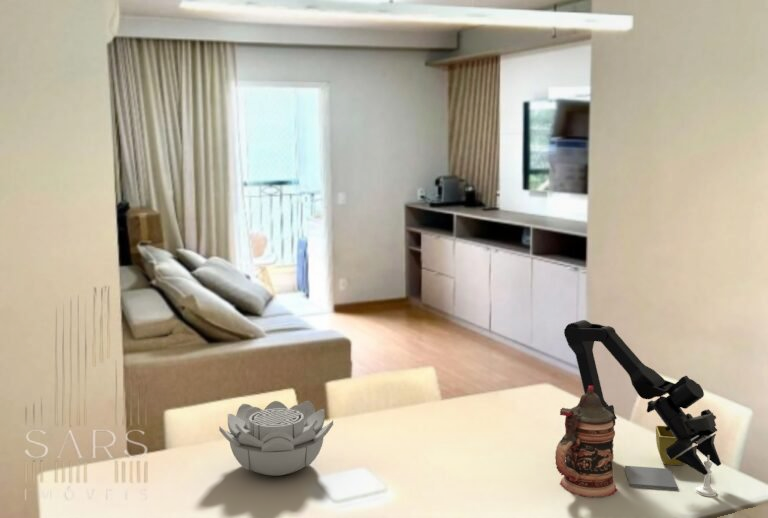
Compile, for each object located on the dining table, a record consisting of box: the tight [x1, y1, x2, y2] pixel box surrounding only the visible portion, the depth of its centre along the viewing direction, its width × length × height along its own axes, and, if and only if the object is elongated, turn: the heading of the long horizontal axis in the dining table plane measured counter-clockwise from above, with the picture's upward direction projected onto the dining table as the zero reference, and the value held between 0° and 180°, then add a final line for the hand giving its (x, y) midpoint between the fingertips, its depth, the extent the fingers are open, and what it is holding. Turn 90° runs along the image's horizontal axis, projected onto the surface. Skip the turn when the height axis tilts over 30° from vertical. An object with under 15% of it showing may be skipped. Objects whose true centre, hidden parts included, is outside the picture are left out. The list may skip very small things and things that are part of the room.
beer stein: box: [554, 386, 618, 498], centre depth 209 cm, size 17×28×18 cm
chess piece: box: [695, 455, 717, 497], centre depth 206 cm, size 5×5×10 cm
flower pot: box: [655, 425, 685, 466], centre depth 225 cm, size 9×9×9 cm
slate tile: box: [624, 465, 679, 491], centre depth 215 cm, size 12×12×1 cm
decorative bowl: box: [218, 400, 334, 476], centre depth 221 cm, size 30×30×15 cm
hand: (713, 469), depth 205 cm, fingers open, 8 cm apart
